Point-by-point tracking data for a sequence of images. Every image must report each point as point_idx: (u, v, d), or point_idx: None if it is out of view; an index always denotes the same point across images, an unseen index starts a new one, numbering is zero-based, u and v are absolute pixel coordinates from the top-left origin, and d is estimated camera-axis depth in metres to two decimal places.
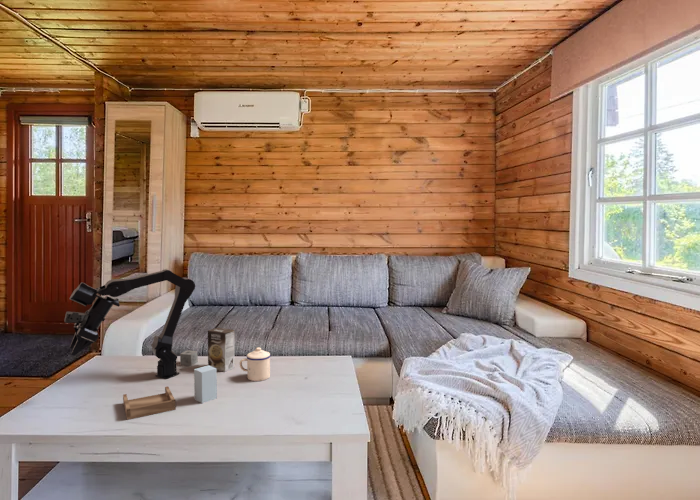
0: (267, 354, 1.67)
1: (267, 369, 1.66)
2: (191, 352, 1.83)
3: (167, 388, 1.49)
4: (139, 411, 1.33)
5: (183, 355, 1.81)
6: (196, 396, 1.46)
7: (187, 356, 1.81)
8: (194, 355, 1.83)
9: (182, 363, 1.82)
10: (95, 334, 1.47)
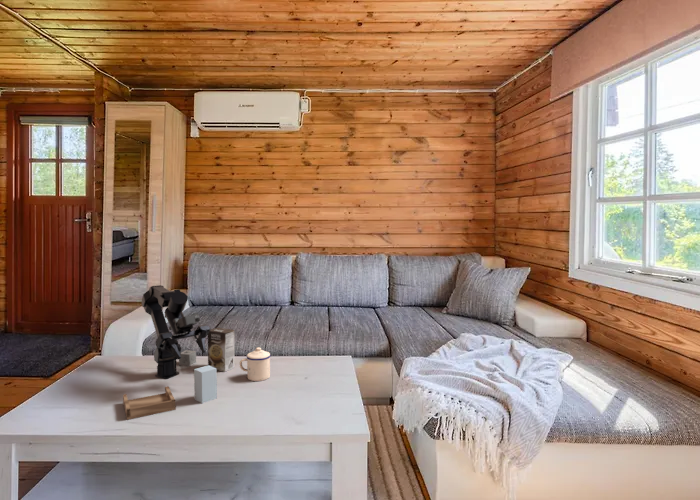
0: (267, 354, 1.67)
1: (267, 369, 1.66)
2: (190, 352, 1.84)
3: (167, 388, 1.49)
4: (139, 411, 1.33)
5: (182, 355, 1.81)
6: (196, 396, 1.46)
7: (186, 356, 1.81)
8: (193, 355, 1.83)
9: (180, 363, 1.82)
10: None
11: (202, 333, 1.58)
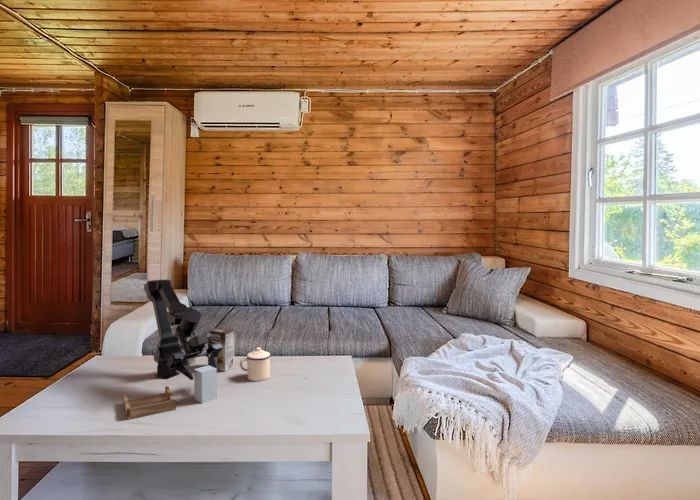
0: (267, 354, 1.67)
1: (267, 369, 1.66)
2: None
3: (167, 388, 1.49)
4: (139, 411, 1.33)
5: None
6: (196, 396, 1.46)
7: None
8: None
9: None
10: None
11: (214, 352, 1.53)
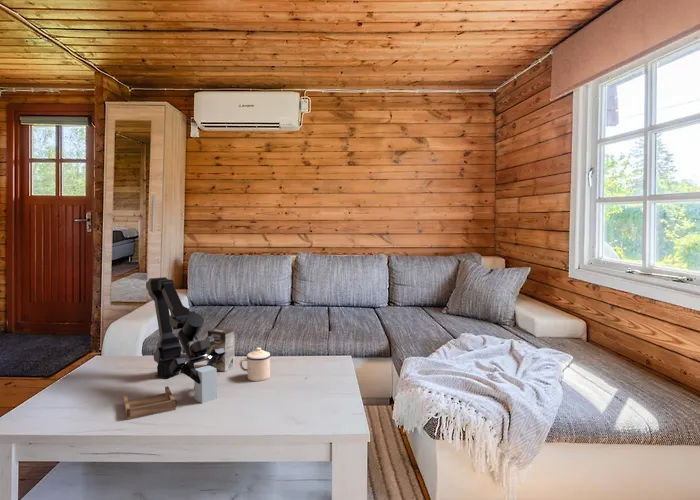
0: (267, 354, 1.67)
1: (267, 369, 1.66)
2: None
3: (167, 388, 1.49)
4: (139, 411, 1.33)
5: None
6: (196, 396, 1.46)
7: None
8: None
9: None
10: None
11: (213, 358, 1.51)
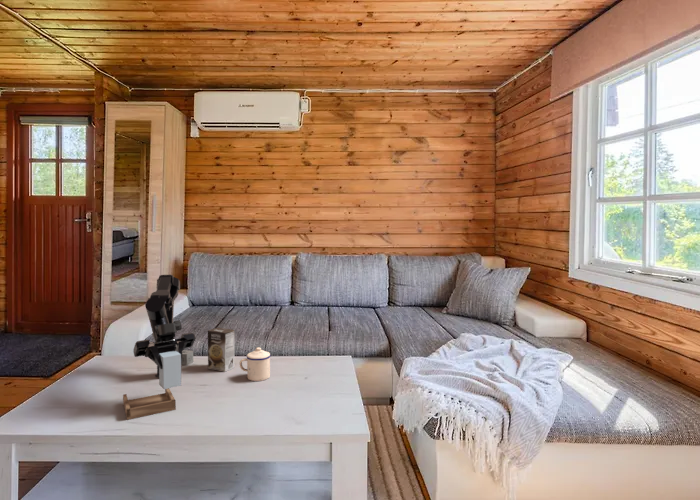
0: (267, 354, 1.67)
1: (267, 369, 1.66)
2: (187, 352, 1.84)
3: None
4: (139, 411, 1.33)
5: None
6: (160, 381, 1.41)
7: (183, 356, 1.81)
8: (190, 355, 1.84)
9: None
10: None
11: (180, 343, 1.45)
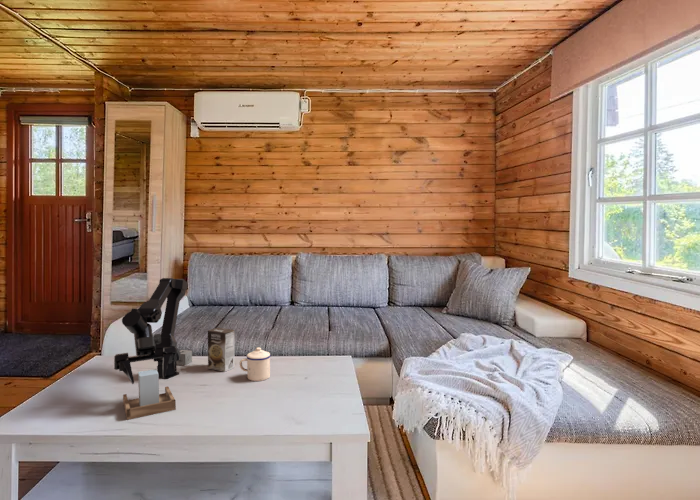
0: (267, 354, 1.67)
1: (267, 369, 1.66)
2: (185, 352, 1.84)
3: (167, 388, 1.49)
4: (139, 411, 1.33)
5: None
6: (139, 400, 1.41)
7: (181, 356, 1.81)
8: (188, 355, 1.84)
9: (176, 363, 1.82)
10: None
11: (165, 356, 1.44)
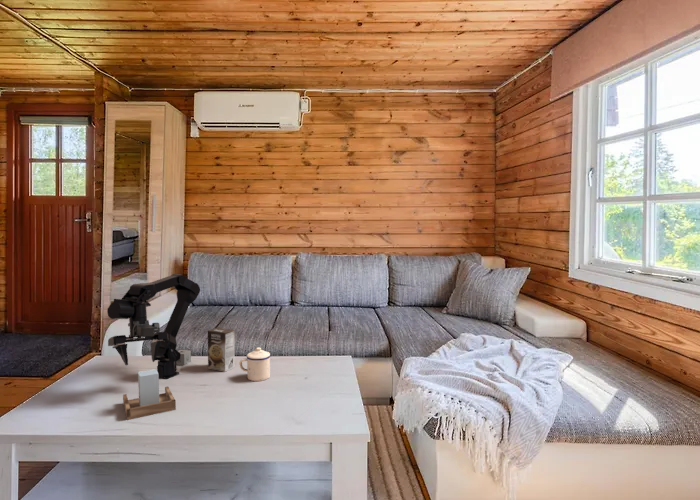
0: (267, 354, 1.67)
1: (267, 369, 1.66)
2: (184, 351, 1.84)
3: (167, 388, 1.49)
4: (139, 411, 1.33)
5: None
6: (139, 400, 1.41)
7: None
8: (187, 354, 1.84)
9: None
10: None
11: (158, 342, 1.55)
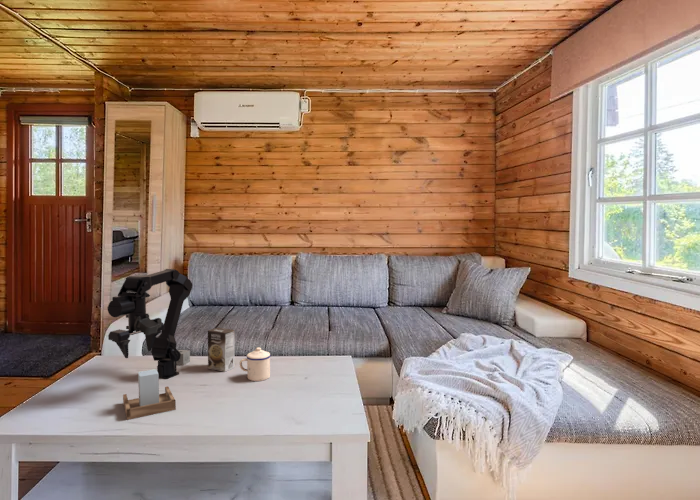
0: (267, 354, 1.67)
1: (267, 369, 1.66)
2: (183, 351, 1.84)
3: (167, 388, 1.49)
4: (139, 411, 1.33)
5: None
6: (139, 400, 1.41)
7: None
8: (186, 354, 1.84)
9: None
10: None
11: (155, 334, 1.58)
